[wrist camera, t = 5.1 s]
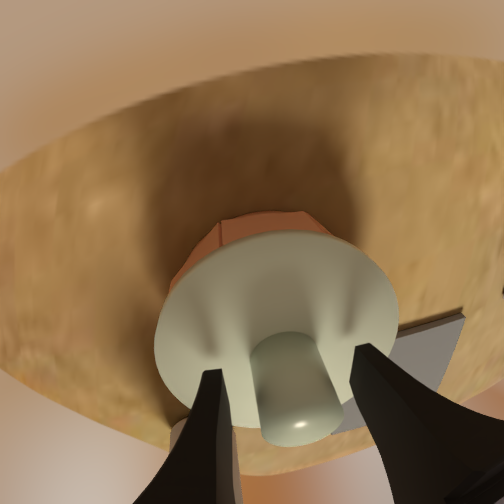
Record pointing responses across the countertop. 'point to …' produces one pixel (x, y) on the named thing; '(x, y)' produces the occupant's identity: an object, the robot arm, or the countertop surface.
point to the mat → (416, 359)
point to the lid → (276, 329)
